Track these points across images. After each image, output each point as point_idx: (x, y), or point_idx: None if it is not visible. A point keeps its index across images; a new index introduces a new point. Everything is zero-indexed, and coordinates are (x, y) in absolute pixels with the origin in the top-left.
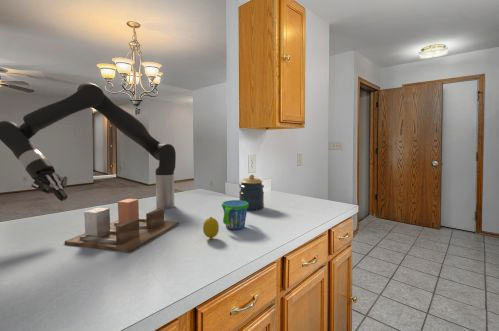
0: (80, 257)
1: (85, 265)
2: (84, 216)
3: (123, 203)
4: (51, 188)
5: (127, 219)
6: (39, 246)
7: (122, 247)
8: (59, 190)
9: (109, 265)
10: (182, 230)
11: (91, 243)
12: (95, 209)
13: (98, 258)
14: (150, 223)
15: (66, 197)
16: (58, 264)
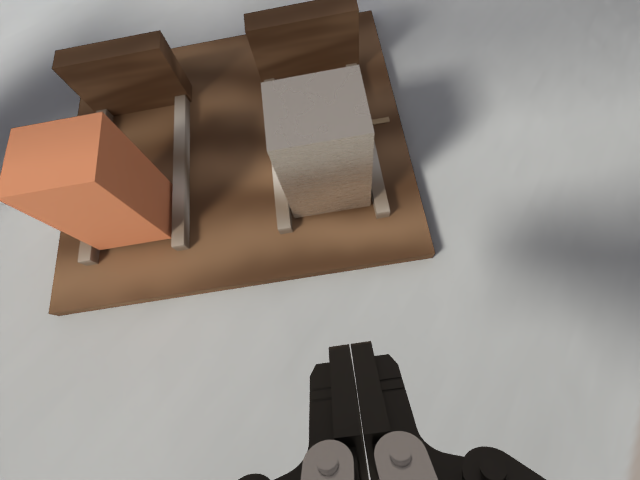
0: (473, 99)
1: (496, 45)
2: (373, 149)
3: (104, 148)
4: (489, 461)
5: (160, 178)
6: (508, 331)
7: (372, 36)
8: (376, 422)
9: (459, 2)
10: (154, 27)
11: (396, 140)
12: (308, 124)
13: (447, 54)
14: (181, 68)
15: (340, 347)
16: (541, 106)
